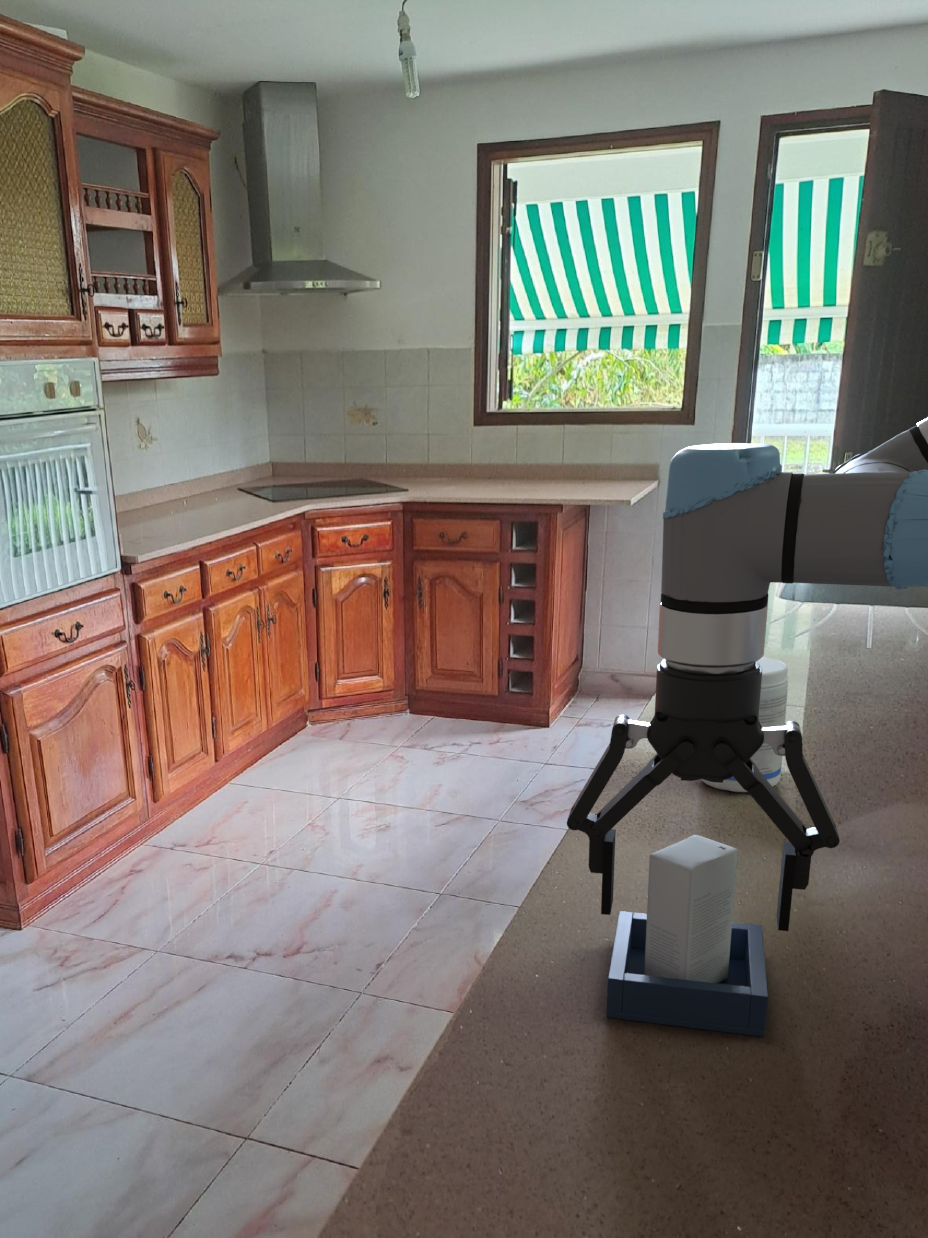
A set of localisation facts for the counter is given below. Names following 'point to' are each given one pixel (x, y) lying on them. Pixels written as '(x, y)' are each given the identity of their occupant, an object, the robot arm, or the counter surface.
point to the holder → (689, 984)
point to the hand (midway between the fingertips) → (692, 915)
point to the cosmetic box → (690, 910)
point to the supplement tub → (766, 722)
